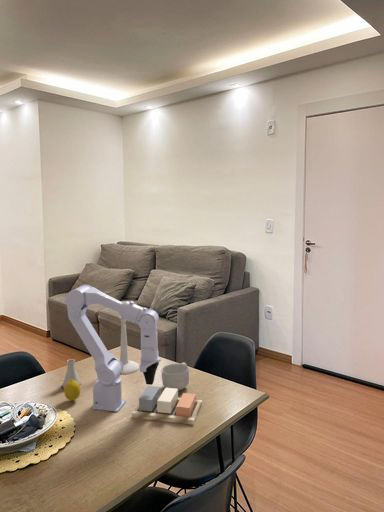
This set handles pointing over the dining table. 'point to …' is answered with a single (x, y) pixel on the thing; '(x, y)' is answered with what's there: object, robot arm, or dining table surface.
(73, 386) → the lemon
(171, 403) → the ivory key
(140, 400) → the grey rectangular block
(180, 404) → the terracotta key
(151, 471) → the dining table surface
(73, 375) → the flask
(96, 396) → the robot arm
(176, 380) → the teacup
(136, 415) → the wooden tray
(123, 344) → the candlestick
